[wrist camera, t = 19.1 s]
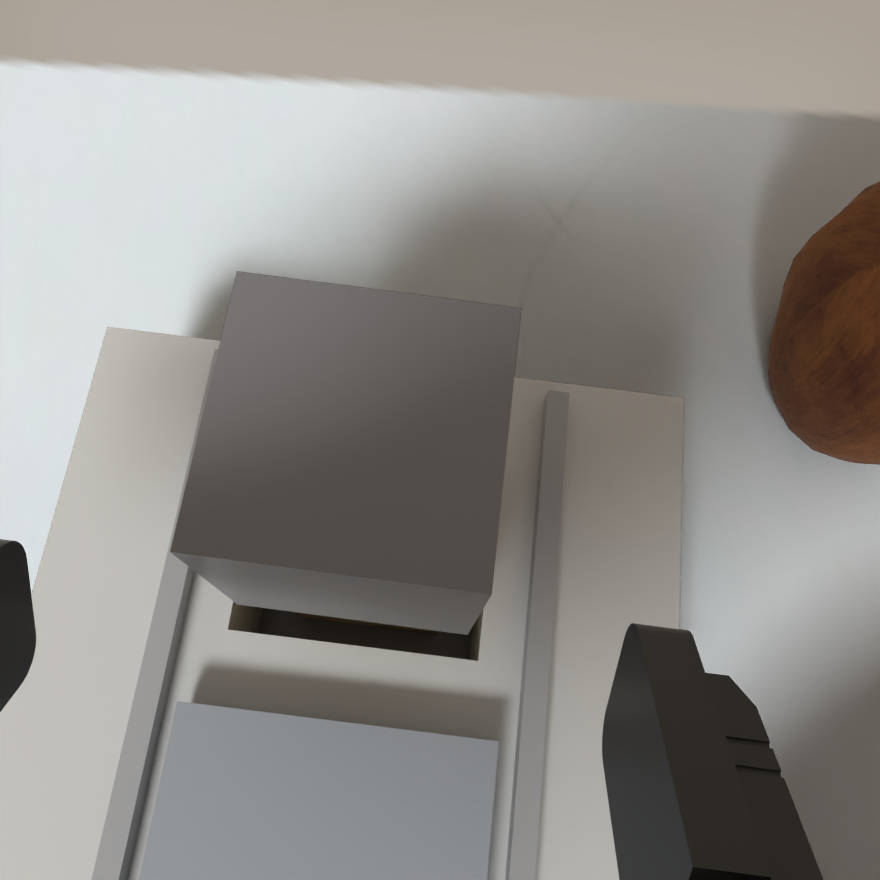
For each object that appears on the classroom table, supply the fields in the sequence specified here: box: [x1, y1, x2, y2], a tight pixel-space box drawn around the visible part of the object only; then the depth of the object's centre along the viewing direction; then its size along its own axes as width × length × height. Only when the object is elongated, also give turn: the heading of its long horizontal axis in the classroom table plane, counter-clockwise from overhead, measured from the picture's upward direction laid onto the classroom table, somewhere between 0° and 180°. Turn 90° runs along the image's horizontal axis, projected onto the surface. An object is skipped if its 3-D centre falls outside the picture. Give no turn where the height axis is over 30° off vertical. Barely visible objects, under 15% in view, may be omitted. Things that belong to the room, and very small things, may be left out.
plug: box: [170, 271, 521, 635], centre depth 17 cm, size 5×5×10 cm
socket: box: [0, 327, 684, 880], centre depth 19 cm, size 14×16×5 cm
